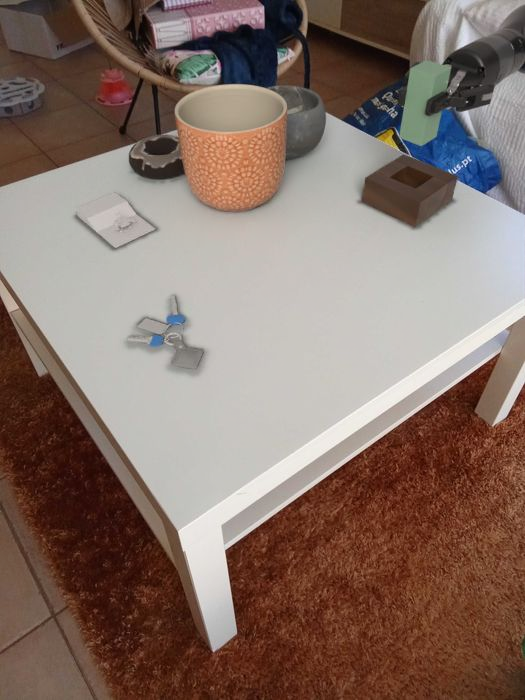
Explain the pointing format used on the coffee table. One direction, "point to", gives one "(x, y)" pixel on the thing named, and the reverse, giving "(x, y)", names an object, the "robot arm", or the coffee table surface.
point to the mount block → (409, 189)
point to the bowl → (302, 119)
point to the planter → (233, 144)
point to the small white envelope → (114, 219)
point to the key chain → (184, 354)
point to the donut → (157, 157)
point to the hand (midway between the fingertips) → (414, 103)
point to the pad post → (423, 101)
